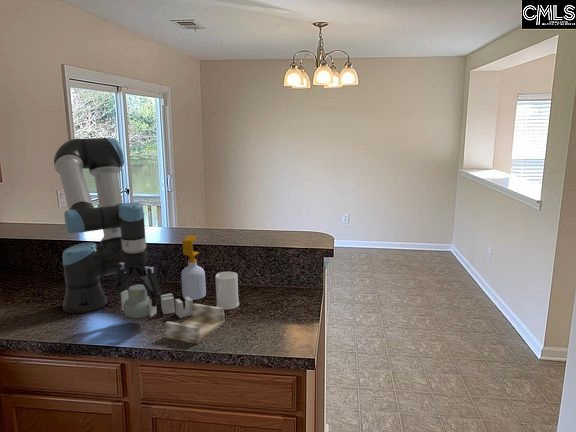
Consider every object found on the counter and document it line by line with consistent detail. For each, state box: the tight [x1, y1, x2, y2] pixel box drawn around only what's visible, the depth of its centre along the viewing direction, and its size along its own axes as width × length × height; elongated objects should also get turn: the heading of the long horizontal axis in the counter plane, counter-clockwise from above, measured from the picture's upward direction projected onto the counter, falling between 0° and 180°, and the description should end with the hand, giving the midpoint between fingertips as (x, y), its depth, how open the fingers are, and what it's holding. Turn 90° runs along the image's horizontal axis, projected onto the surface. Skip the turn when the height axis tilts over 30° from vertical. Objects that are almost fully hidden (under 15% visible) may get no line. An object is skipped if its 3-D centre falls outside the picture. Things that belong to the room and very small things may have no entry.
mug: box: [215, 271, 240, 311], centre depth 161 cm, size 12×8×12 cm
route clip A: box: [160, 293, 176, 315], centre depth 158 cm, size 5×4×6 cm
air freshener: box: [124, 283, 150, 319], centre depth 147 cm, size 11×8×10 cm
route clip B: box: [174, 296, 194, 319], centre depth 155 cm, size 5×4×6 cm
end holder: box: [164, 302, 226, 345], centre depth 144 cm, size 12×17×5 cm
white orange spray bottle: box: [180, 234, 207, 301], centre depth 170 cm, size 9×9×25 cm
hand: (139, 311), depth 148 cm, fingers closed on air freshener, 11 cm apart
